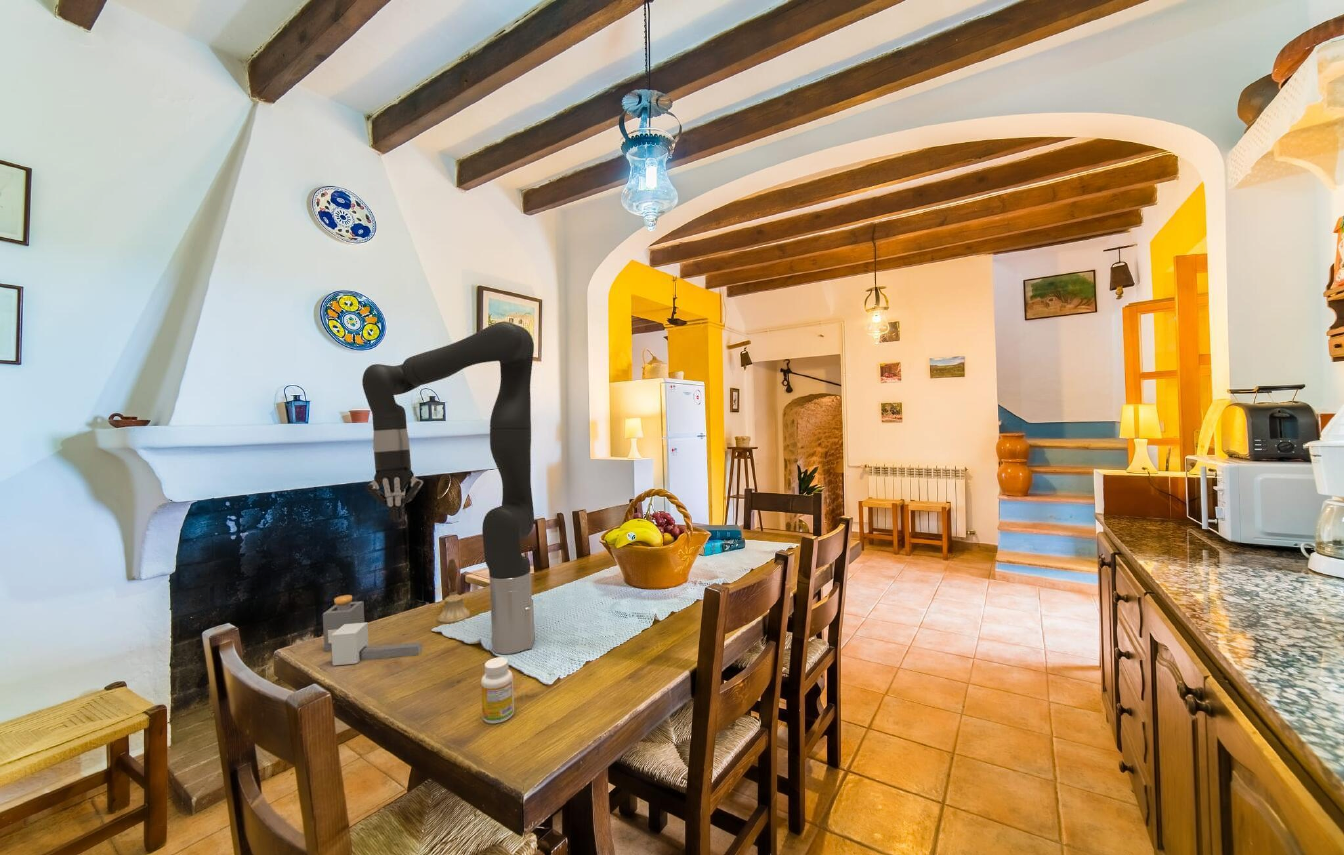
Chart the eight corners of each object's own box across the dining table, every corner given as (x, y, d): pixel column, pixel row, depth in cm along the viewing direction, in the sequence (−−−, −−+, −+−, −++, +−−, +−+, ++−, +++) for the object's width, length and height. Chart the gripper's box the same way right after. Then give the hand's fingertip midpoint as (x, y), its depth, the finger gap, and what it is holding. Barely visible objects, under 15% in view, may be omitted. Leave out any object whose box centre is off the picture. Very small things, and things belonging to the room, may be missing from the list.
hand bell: (476, 614, 141) (474, 557, 141) (448, 625, 135) (445, 565, 134) (459, 609, 146) (456, 553, 146) (431, 619, 139) (428, 560, 139)
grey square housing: (365, 636, 129) (363, 601, 129) (351, 649, 122) (349, 611, 122) (339, 638, 128) (337, 603, 128) (324, 652, 121) (322, 614, 121)
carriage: (368, 651, 120) (367, 622, 120) (357, 663, 115) (355, 632, 114) (345, 653, 120) (344, 624, 120) (332, 665, 114) (331, 635, 114)
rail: (421, 650, 120) (421, 641, 120) (418, 654, 118) (417, 646, 118) (338, 657, 118) (338, 649, 118) (333, 662, 116) (332, 654, 115)
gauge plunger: (355, 614, 127) (354, 594, 127) (348, 620, 124) (347, 599, 124) (339, 615, 127) (338, 595, 127) (332, 621, 123) (331, 600, 123)
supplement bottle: (487, 708, 95) (485, 656, 95) (517, 705, 96) (515, 654, 96) (478, 725, 90) (476, 670, 90) (510, 723, 90) (508, 668, 90)
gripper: (426, 446, 128) (431, 515, 128) (369, 450, 126) (374, 521, 126) (415, 447, 120) (421, 521, 120) (354, 452, 118) (360, 527, 119)
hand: (397, 521), depth 123 cm, fingers closed
